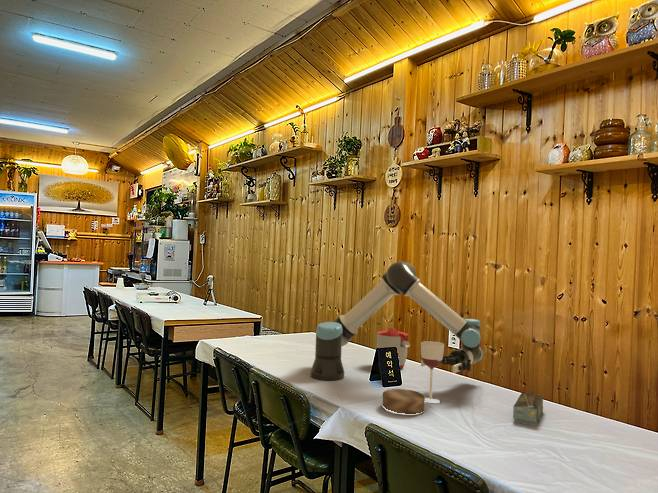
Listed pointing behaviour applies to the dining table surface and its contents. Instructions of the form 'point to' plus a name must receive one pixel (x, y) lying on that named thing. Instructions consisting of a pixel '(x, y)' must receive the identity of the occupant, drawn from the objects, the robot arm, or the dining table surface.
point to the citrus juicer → (394, 342)
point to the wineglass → (432, 356)
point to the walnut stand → (403, 401)
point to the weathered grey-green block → (528, 409)
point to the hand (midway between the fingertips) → (437, 366)
